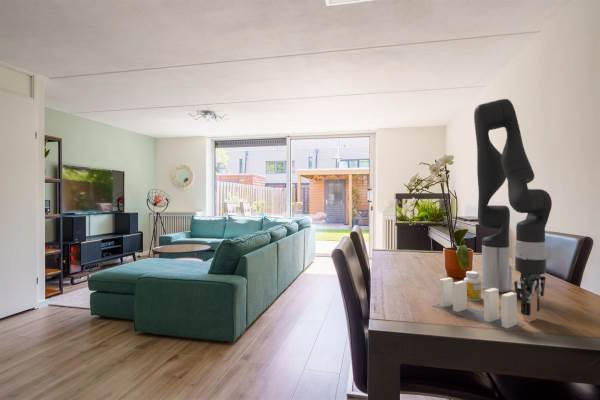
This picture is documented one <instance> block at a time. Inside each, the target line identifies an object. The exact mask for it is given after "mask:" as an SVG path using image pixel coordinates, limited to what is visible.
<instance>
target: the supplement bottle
mask: <svg viewBox="0 0 600 400" xmlns="http://www.w3.org/2000/svg"><path fill="white" fill-rule="evenodd" d="M465 276H466V277H464V278H463V281H466V282H467V301H468V300H469V301H480V300H481V299H482V296H481V295H482V292H481V291H482V287H481V286H482V280H481V279H480V278H479V272H478V271H472V270H466V272H465Z"/></svg>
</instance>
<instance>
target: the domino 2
mask: <svg viewBox="0 0 600 400" xmlns="http://www.w3.org/2000/svg"><path fill="white" fill-rule="evenodd" d="M467 302H468V299H467V282H466V281H464V280H459V281H455V282H453V311H456V312H459V311H462V310H465V309H467V307H468V303H467Z"/></svg>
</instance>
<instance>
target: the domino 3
mask: <svg viewBox="0 0 600 400" xmlns="http://www.w3.org/2000/svg"><path fill="white" fill-rule="evenodd" d="M499 293H500V292H499V289H496V288H491V289H487V290H486V289H484V290H483V312H484V321H487V322H492V321H494V320H497V319H499V317H500V316H499V315H500V312H499V311H500V310H499V309H500V308H499V307H500V306H499V303H500V302H499V297H500V295H499Z"/></svg>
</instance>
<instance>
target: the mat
mask: <svg viewBox="0 0 600 400" xmlns="http://www.w3.org/2000/svg"><path fill="white" fill-rule="evenodd" d="M432 307H434V308H437V309H440V310H443V311H445V312H449V313H451V314H454V315H457V316H461V317H464V318H466V319H469V320H473V321H475V322H478V323H481V324H484V325H487V326H491V327H494V328H496V329H499V330H502V331H506V332H512V331H513V330H517V329H518V328H520V327H522V326H525V325H526V324H525V323H521V322H519V321H517V325H514V326H512V327H510V328H505V327H502V316H499V319H497V320H494V321H492V322H487V321H484V310H483V311H482V310H479V309H475V308H473V307H469V306H467V309H465V310H462V311H459V312H456V311H453V305H450V306H446V307H441V306H439V303H438V304H435V305H432Z"/></svg>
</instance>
